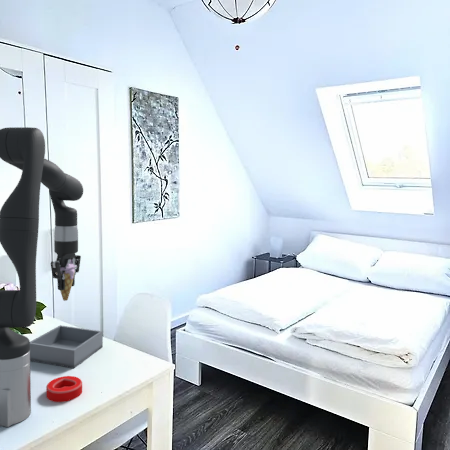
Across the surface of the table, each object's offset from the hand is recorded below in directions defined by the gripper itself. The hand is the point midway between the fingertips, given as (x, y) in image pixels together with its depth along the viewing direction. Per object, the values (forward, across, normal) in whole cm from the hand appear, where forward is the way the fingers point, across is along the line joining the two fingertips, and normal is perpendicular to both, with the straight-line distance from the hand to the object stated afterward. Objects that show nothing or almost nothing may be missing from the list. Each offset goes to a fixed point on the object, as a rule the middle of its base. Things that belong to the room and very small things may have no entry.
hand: (66, 287), depth 144 cm
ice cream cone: (+5, 0, 0) cm, 5 cm away
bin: (+24, 0, 0) cm, 24 cm away
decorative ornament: (+24, -23, -15) cm, 36 cm away
